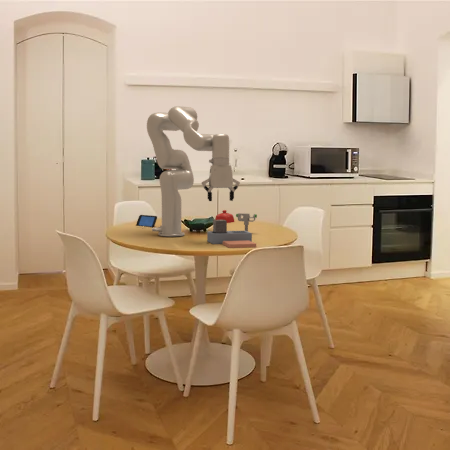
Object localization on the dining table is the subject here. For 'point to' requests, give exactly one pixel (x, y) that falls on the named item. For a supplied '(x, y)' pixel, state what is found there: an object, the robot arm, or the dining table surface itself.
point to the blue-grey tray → (228, 236)
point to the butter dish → (225, 217)
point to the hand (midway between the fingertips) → (220, 200)
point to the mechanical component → (245, 219)
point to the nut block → (219, 226)
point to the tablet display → (146, 221)
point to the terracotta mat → (239, 244)
